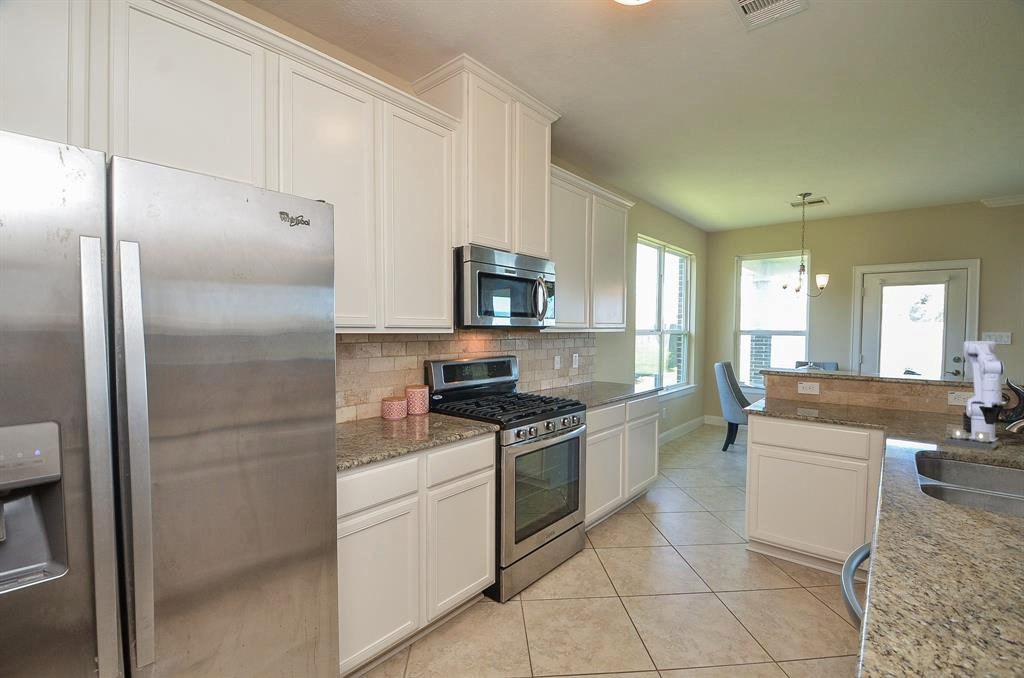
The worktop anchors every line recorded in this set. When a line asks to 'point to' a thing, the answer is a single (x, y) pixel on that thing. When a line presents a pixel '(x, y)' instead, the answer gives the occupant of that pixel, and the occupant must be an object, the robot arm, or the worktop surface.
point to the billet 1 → (959, 434)
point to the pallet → (971, 443)
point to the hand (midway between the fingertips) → (991, 423)
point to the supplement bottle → (966, 422)
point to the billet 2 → (982, 437)
